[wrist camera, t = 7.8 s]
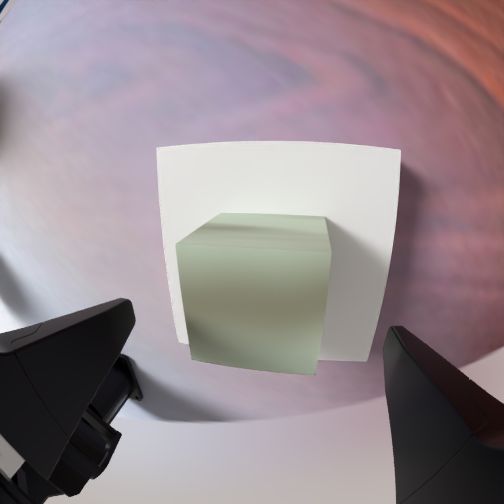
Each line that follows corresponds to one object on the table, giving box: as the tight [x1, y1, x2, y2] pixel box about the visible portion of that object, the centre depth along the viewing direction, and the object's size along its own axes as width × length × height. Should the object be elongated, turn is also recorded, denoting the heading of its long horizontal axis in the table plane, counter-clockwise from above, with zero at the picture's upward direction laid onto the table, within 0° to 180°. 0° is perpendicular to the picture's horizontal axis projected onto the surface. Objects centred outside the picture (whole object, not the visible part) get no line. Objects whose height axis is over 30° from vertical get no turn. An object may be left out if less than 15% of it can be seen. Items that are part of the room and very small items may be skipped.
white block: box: [157, 141, 401, 362], centre depth 15 cm, size 12×12×3 cm
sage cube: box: [175, 213, 332, 375], centre depth 12 cm, size 5×5×5 cm
